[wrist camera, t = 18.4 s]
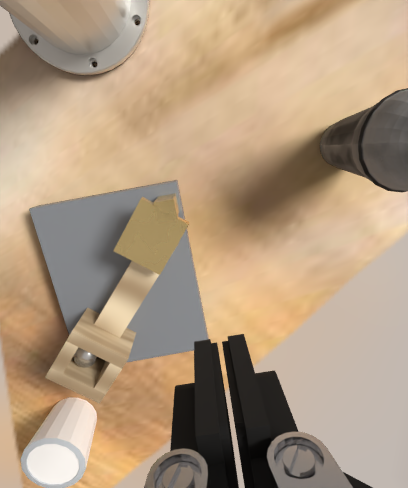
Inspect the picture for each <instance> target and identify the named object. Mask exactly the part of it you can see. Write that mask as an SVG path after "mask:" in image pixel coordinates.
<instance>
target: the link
mask: <svg viewBox="0 0 408 488" xmlns="http://www.w3.org/2000/svg"><path fill="white" fill-rule="evenodd" d="M178 244H179V243H178ZM178 244H177V246H178ZM177 246H176V247H177ZM175 249H176V248H175ZM173 252H174V251H173ZM172 254H173V253H172ZM158 276H159V274H157V273H155V272H153V271H151V270H149V269H147V268H145V267H143V266H141V265H139V264H137V263H136V262H134V261H131V263H130V264H129V266H128V268H127V269H126V271H125V273H124V275H123V276H122V278H121V280H120V281H119V283H118V285H117V286H116V288H115V290H114V291H113V293H112V295H111V296H110V298H109V300H108V301H107V303H106V305H105V306H104V308H103V310H102V311H101V313H100V314H99V313H97V312H95V311H94V310H92V309H90V308H87V309H86V311H85V312H84V314H83V315H82V317H81V318H80V320H79V321H78V323H77V324H76V326H75V327H74V329H73V330H72V332H71V334H70V335H69V337H68V339H67V341H66V342H65V344H64V346H63V347H62V349H61V351H60V353H59V354H58V356H57V358H56V359H55V361H54V363H53V365H52V366H51V368H50V370H49V371H48V373H47V375H46V377H45V378H46V379H49V380H51V381H53V382H55V383H57V384H59V385H61V386H63V387H65V388H68V389H70V390H72V391H74V392H76V393H78V394H80V395H82V396H85V397H87V398H89V399H91V400H93V401H95V402H97V403H99V404H100V402H101V401H102V399H103V398H104V396H105V395H106V393H107V391H108V390H109V388H110V387H111V385H112V384H113V382H114V381H115V379H116V377H117V376H118V374H119V373H120V371H121V370H122V368H123V366H124V365H125V363H126V362H127V360H128V358H129V355H130V352H131V348H132V345H133V342H134V339H135V335H136V332H134V331H132V330H130V329H128V328H126V327H127V326H128V324H129V323H130V321H131V319H132V318H133V316H134V315H135V313H136V311H137V310H138V308H139V307H140V305H141V303H142V302H143V300H144V299H145V297H146V295H147V294H148V292H149V291H150V289H151V287H152V286H153V284H154V282H155V281H156V279H157V278H158ZM78 347H79V348H81V349H83V350H85V351H87V352H89V353H91V354H93V355H95V356H97V358H96V361H95V363H94V364H93V365H92V366H90V367H86V368H84V367H80V366H78V365H77V364H76V363H75V361H74V354H75V352H76V351H77V349H78Z"/></svg>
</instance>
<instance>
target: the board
mask: <svg viewBox="0 0 408 488" xmlns="http://www.w3.org/2000/svg"><path fill="white" fill-rule="evenodd" d="M174 193H176V197H177V202H178V207H179V214H178V216H179V217H180V218H182V219H184V220H185V217H184V212H183V207H182V202H181V197H180V192H179V187H178V182H177V180H174V181H169V182H163V183H158V184H152V185H147V186H142V187H136V188H131V189H125V190H120V191H115V192H109V193H104V194H99V195H93V196H88V197H82V198H77V199H72V200H66V201H61V202H55V203H50V204H45V205H39V206H36V207H33V208H30V209H29V210H30V213H31V216H32V220H33V223H34V226H35V229H36V232H37V235H38V238H39V242H40V245H41V248H42V251H43V254H44V257H45V260H46V264H47V267H48V270H49V273H50V276H51V279H52V283H53V286H54V289H55V292H56V295H57V298H58V301H59V305H60V308H61V311H62V314H63V317H64V320H65V323H66V327H67V330H68V333H69V335H70V334H71V332H72V330H73V329H74V327H75V326H76V324H77V323H78V321H79V320H80V318H81V317H82V315H83V314H84V312H85V311H86V309H87V308H90V309H92V310H94V311H95V312H97V313H99V314H100V313H101V311H102V310H103V308H104V306H105V305H106V303H107V301H108V300H109V298H110V296H111V295H112V293H113V291H114V290H115V288H116V286H117V285H118V283H119V281H120V280H121V278H122V276H123V275H124V273H125V271H126V269H127V268H128V266H129V264H130V263H131V261H132V260H130V259H128V258H126V257H124V256H122V255H120V254H118V253H116V252H114V249H115V247H116V245H117V243H118V241H119V239H120V237H121V235H122V233H123V232H124V230H125V228H126V226H127V224H128V222H129V220H130V218H131V216H132V214H133V213H134V211H135V209H136V207H137V205H138V203H139V201H140V199H141V198H142V197H144V198H146V199H148V200H150V201H151V202H153V203H154V201H155V200H156V199H157V197H158V196H163V195H169V194H174ZM126 328H128V329H130V330H132V331H134V332H136V335H135V339H134V342H133V345H132V348H131V352H130V355H129V358H128V360H127V362H131V361H137V360H142V359H148V358H154V357H159V356H165V355H170V354H176V353H181V352H187V351H193V350H194V342H195V341H201V340H208V333H207V328H206V323H205V318H204V313H203V308H202V303H201V298H200V293H199V288H198V283H197V278H196V273H195V268H194V263H193V258H192V253H191V248H190V242H189V237H188V232H187V229H186V230H185V232H184V234H183V236H182V237H181V239H180V241H179V244H178V246H177V247H176V249H175V250H174V252H173V254H172V255H171V257H170V258H169V260H168V262H167V264H166V265H165V267H164V269H163V271H162V272H161V274H160V275H159V276H158V278H157V279H156V281H155V282H154V284H153V286H152V287H151V289H150V291H149V292H148V294H147V295H146V297H145V299H144V300H143V302H142V303H141V305H140V307H139V308H138V310H137V311H136V313H135V315H134V316H133V318H132V319H131V321H130V323H129V324H128V326H127V327H126Z"/></svg>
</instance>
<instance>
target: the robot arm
mask: <svg viewBox="0 0 408 488" xmlns="http://www.w3.org/2000/svg"><path fill="white" fill-rule="evenodd" d="M0 6H1V7H3V8H4V9H5V10H7V11H8V12H9V14H10V16H11V19H12V22H13V24H14V26H15V28H16V29H17V31H18V33H19V35H20V36H21V38H22V39H23V40H24V42H25V43H26V44H27V45H28V46H29V48H30V49H31V50H32V51H33V52H34V53H36V54H37V55H38V56H39V57H40V58H41V59H43V60H44V61H46V62H47V63H49V64H50V65H52V66H54V67H56V68H58V69H60V70H62V71H65V72H69V73H73V74H78V75H94V74H101V73H104V72H106V71H109V70H112V69H114V68H115V67H117V66H119V65H120V64H122V63H123V62H124V61H125V60H126V59H127V58H128V57H129V56H130V55H132V53H133V52H134V50H135V49H136V48H137V46H138V45H139V43H140V41H141V39H142V37H143V34H144V32H145V29H146V25H147V21H148V15H149V0H0ZM136 21H140V25H138V26H137V25H135V22H136ZM36 40H39V42H38V44H37V45H36V43H35V42H36ZM95 62H97V67H93V63H95ZM222 344H223V351H224V357H225V364H226V370H227V377H228V383H229V390H230V396H231V403H232V409H233V416H234V422H235V428H236V435H237V440H238V447H239V453H240V460H241V465H242V472H243V479H244V485H245V488H372V487H370V486H368V485H366V484H365V483H363V482H361V481H359V480H357V479H355V478H353V477H351V476H350V475H348V474H346V473H344V472H342V470H341V469H340V467H339V466H338V464H337V462H336V461H335V459H334V458H333V456H332V455H331V453H330V452H329V451H328V449H327V447H326V446H325V445H324V444H323V443H322V442H321V441H320V440H318V439H317V438H316V437H314V436H312V435H309V434H307V433H303V432H298V429H297V427H296V424H295V421H294V419H293V416H292V413H291V411H290V408H289V406H288V403H287V400H286V398H285V395H284V392H283V390H282V387H281V385H280V382H279V380H278V377H277V374H276V372H275V371H268V372H262V373H255V372H254V368H253V365H252V361H251V358H250V354H249V351H248V347H247V344H246V341H245V337H244V334H241V335H234V336H228V341H224V342H222ZM194 370H195V383H190V384H183V385H177V386H175V393H174V407H173V422H172V436H171V450H170V452H168V453H166V454H164V455H163V456H162V457H160V458H159V459H157V461H156V462H155V463H154V464H153V466H152V467H151V469H150V471H149V473H148V476H147V479H146V483H145V486H144V488H239V487H238V479H237V472H236V465H235V458H234V452H233V444H232V437H231V429H230V422H229V416H228V409H227V403H226V397H225V390H224V384H223V377H222V371H221V365H220V358H219V352H218V346H217V343H211V341H210V339H208V340H201V341H195V342H194Z"/></svg>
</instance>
